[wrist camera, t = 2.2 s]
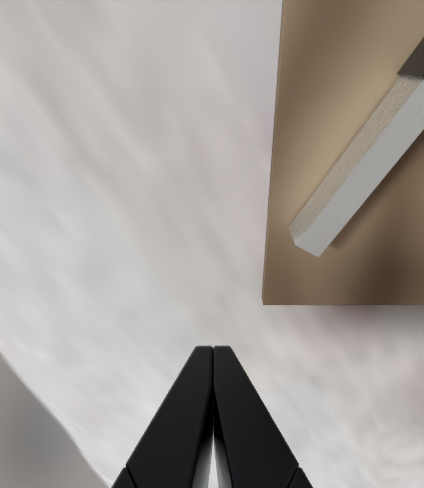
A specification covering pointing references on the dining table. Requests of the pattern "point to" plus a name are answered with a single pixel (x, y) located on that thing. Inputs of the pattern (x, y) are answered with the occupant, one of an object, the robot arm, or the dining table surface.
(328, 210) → the bar
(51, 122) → the dining table surface
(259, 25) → the dining table surface
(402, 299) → the board
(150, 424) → the robot arm
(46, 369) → the dining table surface
